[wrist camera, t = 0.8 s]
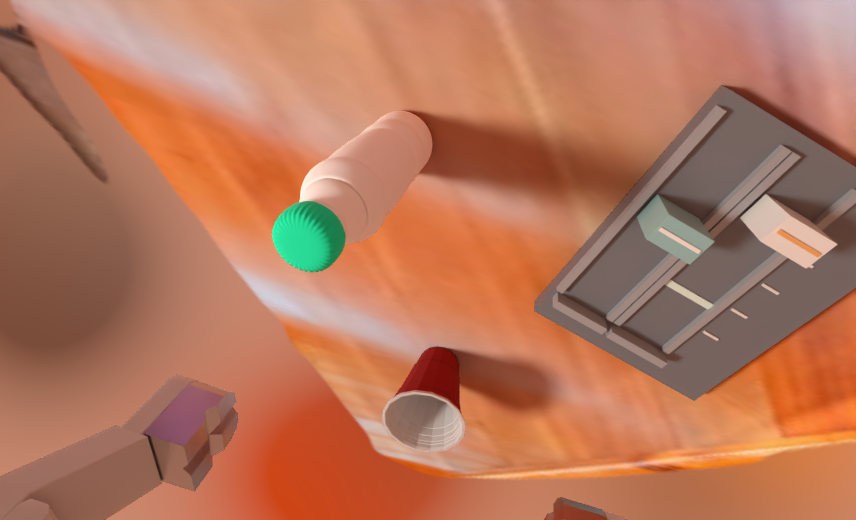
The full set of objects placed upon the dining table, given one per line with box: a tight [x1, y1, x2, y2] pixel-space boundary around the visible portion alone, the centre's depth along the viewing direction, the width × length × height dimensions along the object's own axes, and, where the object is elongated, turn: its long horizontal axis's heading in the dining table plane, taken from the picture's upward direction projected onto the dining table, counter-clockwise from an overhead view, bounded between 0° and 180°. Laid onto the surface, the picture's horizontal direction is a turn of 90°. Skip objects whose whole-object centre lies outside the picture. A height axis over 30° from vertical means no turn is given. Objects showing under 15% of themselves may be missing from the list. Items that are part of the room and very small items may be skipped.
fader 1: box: [637, 194, 715, 265], centre depth 43 cm, size 3×5×5 cm, turn 63°
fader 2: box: [740, 194, 838, 268], centre depth 41 cm, size 3×5×5 cm, turn 63°
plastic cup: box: [382, 347, 465, 452], centre depth 61 cm, size 11×11×12 cm
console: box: [534, 85, 856, 401], centre depth 47 cm, size 30×24×4 cm
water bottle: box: [272, 111, 433, 272], centre depth 39 cm, size 7×7×25 cm
